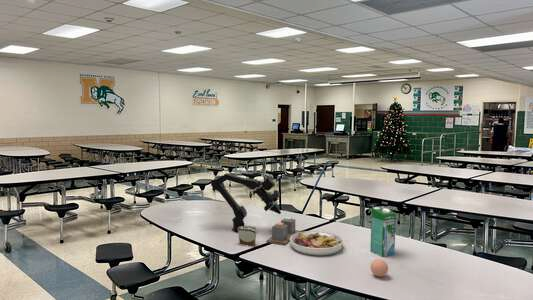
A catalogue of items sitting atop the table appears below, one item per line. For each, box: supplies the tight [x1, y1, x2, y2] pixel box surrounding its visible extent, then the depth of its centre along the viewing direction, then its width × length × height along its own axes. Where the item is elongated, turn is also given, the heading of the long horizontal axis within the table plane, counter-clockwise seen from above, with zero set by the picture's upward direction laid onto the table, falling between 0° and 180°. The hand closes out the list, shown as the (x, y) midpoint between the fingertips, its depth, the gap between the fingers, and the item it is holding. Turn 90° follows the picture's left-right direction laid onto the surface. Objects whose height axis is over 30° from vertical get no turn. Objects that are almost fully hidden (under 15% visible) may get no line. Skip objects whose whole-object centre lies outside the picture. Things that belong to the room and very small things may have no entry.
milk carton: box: [369, 205, 397, 258], centre depth 200 cm, size 9×9×25 cm
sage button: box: [283, 216, 293, 221], centre depth 231 cm, size 4×4×3 cm
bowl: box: [289, 230, 344, 256], centre depth 209 cm, size 30×30×8 cm
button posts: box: [271, 218, 296, 241], centre depth 226 cm, size 21×7×8 cm, turn 155°
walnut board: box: [265, 229, 301, 246], centre depth 226 cm, size 26×12×1 cm, turn 155°
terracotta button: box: [275, 221, 284, 227], centre depth 219 cm, size 4×4×3 cm
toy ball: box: [370, 258, 389, 278], centre depth 171 cm, size 8×8×8 cm
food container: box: [237, 225, 258, 248], centre depth 214 cm, size 12×6×10 cm, turn 65°
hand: (280, 213), depth 232 cm, fingers closed
